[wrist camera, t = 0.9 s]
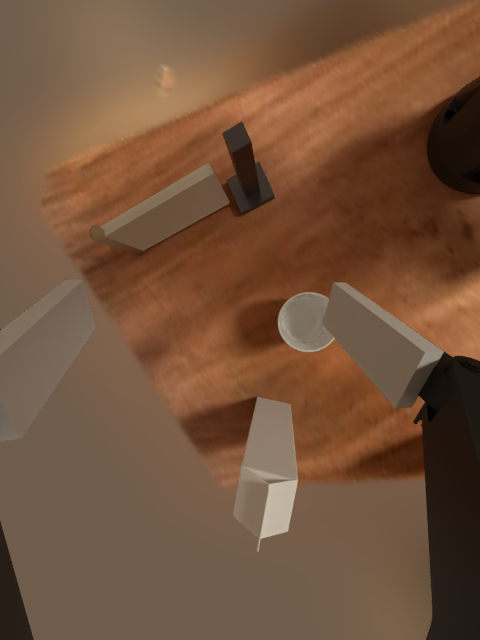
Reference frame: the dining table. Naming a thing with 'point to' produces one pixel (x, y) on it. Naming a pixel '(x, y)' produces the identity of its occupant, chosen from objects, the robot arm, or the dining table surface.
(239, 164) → the gate post
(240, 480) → the milk
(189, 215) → the gate panel
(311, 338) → the white cup
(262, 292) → the dining table surface
